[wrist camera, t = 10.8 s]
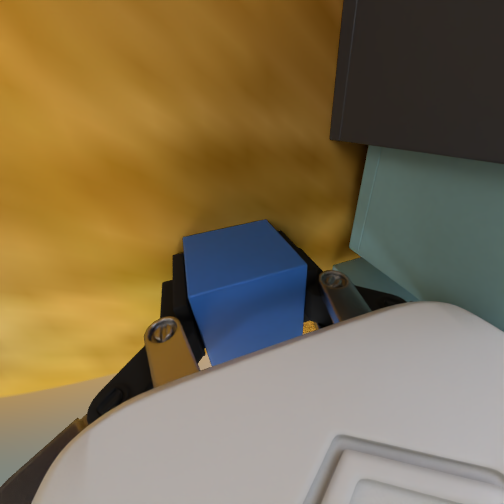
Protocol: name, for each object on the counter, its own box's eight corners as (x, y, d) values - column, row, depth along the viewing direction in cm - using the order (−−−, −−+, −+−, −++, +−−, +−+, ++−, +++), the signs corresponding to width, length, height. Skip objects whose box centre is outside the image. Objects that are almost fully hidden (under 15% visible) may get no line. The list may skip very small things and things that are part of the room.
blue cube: (266, 218, 12) (308, 264, 8) (269, 281, 14) (303, 337, 11) (182, 236, 11) (187, 297, 7) (201, 300, 13) (212, 369, 10)
